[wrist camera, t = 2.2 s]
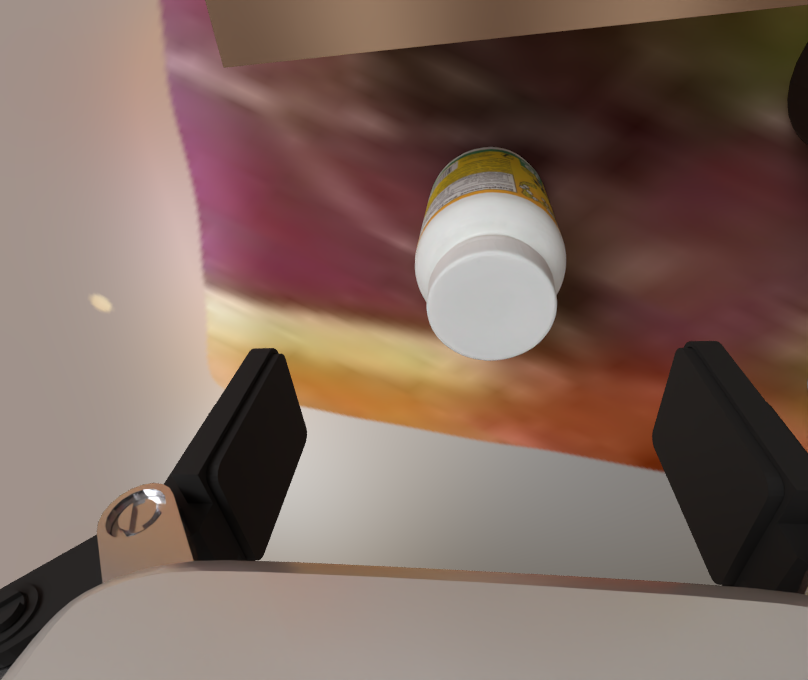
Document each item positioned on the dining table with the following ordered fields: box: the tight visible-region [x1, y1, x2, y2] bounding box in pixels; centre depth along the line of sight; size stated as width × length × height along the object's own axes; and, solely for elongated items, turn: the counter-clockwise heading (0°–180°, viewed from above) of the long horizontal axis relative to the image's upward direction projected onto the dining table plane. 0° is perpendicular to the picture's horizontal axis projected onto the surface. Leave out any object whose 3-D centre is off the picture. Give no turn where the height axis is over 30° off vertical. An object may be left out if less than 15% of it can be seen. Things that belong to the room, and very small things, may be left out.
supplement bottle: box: [415, 147, 566, 361], centre depth 18 cm, size 5×5×10 cm
